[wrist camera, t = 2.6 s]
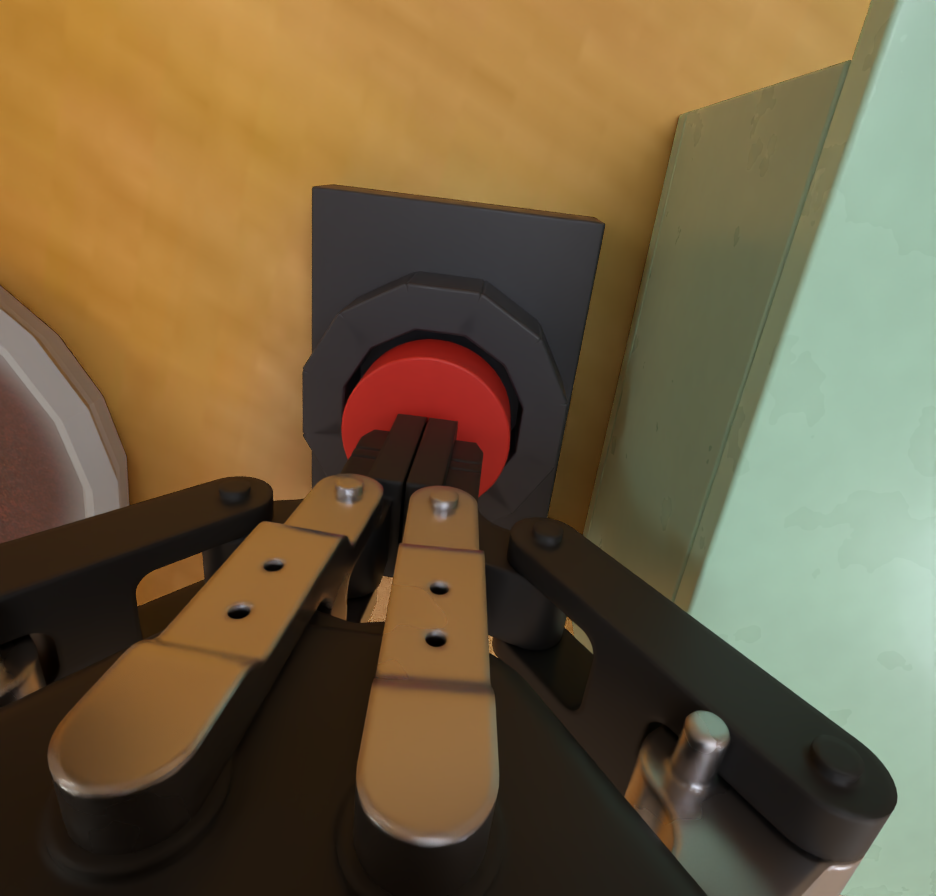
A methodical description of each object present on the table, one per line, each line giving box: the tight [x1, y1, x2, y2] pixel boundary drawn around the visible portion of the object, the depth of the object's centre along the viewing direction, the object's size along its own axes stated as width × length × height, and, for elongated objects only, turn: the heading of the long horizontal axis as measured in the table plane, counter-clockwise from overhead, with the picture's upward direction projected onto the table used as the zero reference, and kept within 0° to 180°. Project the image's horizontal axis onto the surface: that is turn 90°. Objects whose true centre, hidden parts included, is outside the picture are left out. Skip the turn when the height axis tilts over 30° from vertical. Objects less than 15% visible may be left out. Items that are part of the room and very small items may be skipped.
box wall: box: [572, 60, 852, 654], centre depth 16 cm, size 17×14×9 cm
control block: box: [302, 185, 605, 530], centre depth 19 cm, size 11×8×4 cm
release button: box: [341, 339, 511, 497], centre depth 16 cm, size 4×4×2 cm
